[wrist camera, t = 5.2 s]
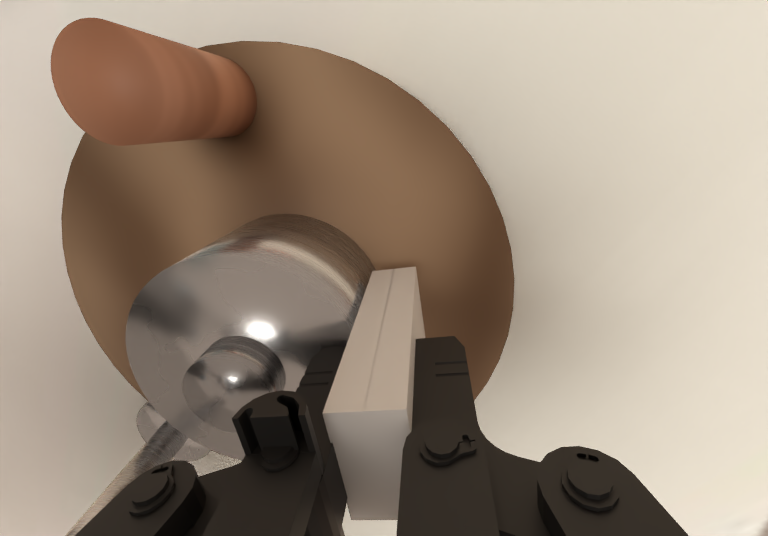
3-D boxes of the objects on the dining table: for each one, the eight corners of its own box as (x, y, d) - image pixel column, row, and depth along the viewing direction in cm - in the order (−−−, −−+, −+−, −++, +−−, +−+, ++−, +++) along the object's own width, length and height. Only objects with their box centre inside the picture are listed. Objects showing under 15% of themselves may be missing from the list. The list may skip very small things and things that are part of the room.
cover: (239, 377, 16) (155, 494, 11) (186, 225, 14) (47, 286, 9) (395, 368, 15) (380, 492, 10) (368, 202, 13) (330, 255, 8)
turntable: (180, 447, 21) (84, 574, 15) (19, 99, 14) (-257, 86, 9) (512, 434, 18) (554, 586, 12) (493, -2, 12) (561, -125, 6)
